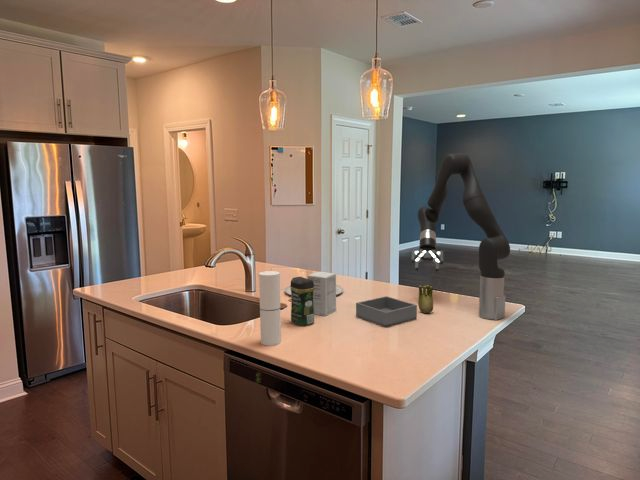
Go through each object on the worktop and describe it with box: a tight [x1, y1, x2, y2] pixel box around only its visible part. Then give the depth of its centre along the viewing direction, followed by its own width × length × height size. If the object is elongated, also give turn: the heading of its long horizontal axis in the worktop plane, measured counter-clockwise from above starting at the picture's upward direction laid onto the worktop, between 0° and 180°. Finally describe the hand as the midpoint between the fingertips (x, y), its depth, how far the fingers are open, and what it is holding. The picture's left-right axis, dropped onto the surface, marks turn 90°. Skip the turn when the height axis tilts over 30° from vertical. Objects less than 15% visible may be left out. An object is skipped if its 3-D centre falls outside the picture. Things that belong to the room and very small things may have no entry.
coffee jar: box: [289, 276, 315, 326], centre depth 178 cm, size 10×8×19 cm
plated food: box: [284, 284, 344, 296], centre depth 228 cm, size 30×30×3 cm
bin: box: [355, 295, 418, 329], centre depth 184 cm, size 18×18×6 cm
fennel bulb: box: [417, 284, 434, 314], centre depth 191 cm, size 6×5×12 cm
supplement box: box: [307, 271, 337, 317], centre depth 193 cm, size 10×9×17 cm
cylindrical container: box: [258, 270, 282, 347], centre depth 157 cm, size 7×7×25 cm
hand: (426, 270), depth 201 cm, fingers open, 8 cm apart
